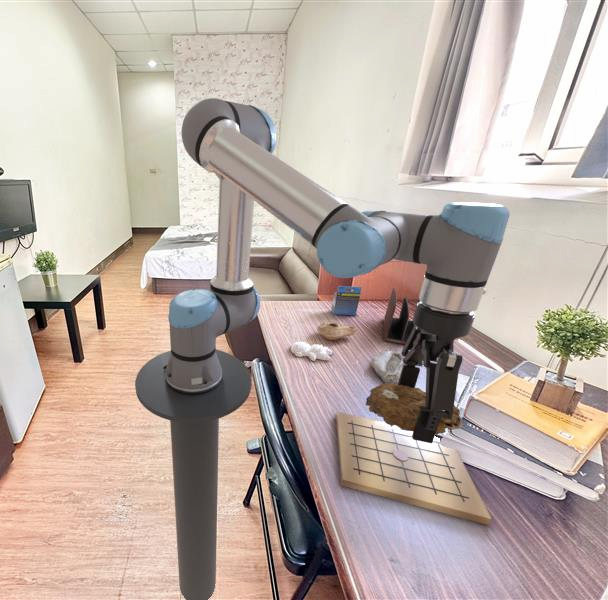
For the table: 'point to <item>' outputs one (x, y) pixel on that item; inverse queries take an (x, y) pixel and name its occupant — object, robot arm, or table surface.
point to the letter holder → (397, 322)
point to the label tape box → (346, 301)
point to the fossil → (388, 366)
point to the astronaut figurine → (311, 351)
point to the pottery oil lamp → (335, 330)
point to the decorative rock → (405, 407)
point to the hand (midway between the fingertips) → (411, 415)
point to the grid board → (406, 468)
